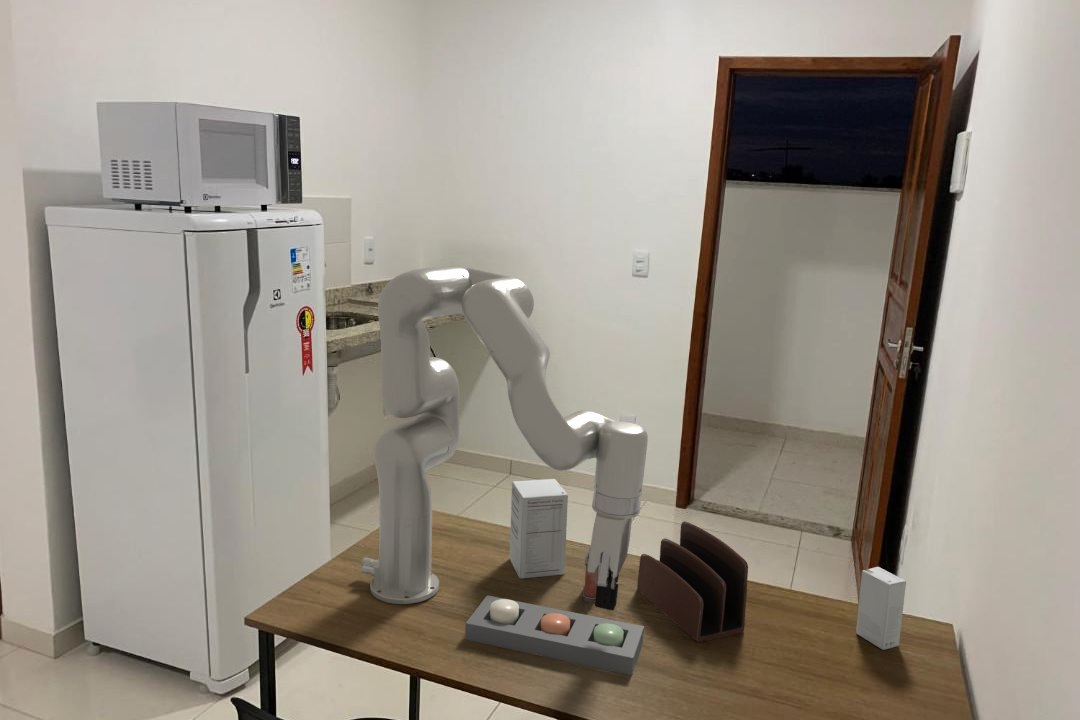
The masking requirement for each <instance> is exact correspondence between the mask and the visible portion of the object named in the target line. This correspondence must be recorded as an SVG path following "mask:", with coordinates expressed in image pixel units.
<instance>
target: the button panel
mask: <svg viewBox="0 0 1080 720" xmlns="http://www.w3.org/2000/svg"><path fill="white" fill-rule="evenodd" d="M500 599H504V597H503V598H501V597H497V596H492V595H486V596H485V597H484V598H483V600H482V601H481V602H480V604H479V605H478V607H477V608H476V609H475V611H474V612H473V613H472V614H471V616H470V617H469V618H468V619H467V621H466V622H465V634H464V635H465V636H464V640H466V641H470V642H475V643H479V644H484V645H489V646H493V647H497V648H503V649H508V650H513V651H516V652H521V653H526V654H530V655H535V656H539V657H545V658H549V659H554V660H560V661H562V662H564V661H565V662H568V663H572V664H578V665H582V666H586V667H591V668H595V669H602V670H605V671H611V672H614V673H615V672H616V673H618V674H625V675H628V676H633V673H634V670H635V668H636V664H637V661H638V658H639V655H640V653H641V649H642V647H643V644H644V633H645V632H644V631H645V625H641V624H635V623H628V622H624V621H619V620H614V619H610V618H604V617H598V616H593V615H589V614H584V613H577V612H575V611H574V612H573V611H567V610H563V609H558V608H554V607H553V608H552V607H548V606H543V605H539V604H538V605H537V604H533V603H528V602H522V601H519V600H514V601H515V602H516V603H518V605H519V616H518V621H517V623H516V624H515V626H514V625H509V624H504V623H499V622H494V621H490V606H491V603H492V602H494V601H496V600H500ZM550 613H558V614H563V615H565V616H567V617H568V618H569V619H570V632H569V634H568V636H562V635H558V634H553V633H548V632H543V631H541V619H542V617H543V616H544V615H546V614H550ZM604 623H608V624H614V625H617V626H619V627H620V628H622V630H623V632H624V634H623V647H622V648H621V647H616V646H611V645H606V644H601V643H596V642H593V639H594V628H595V627H596V626H597V625H599V624H604Z"/></svg>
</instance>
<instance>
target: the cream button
mask: <svg viewBox="0 0 1080 720" xmlns="http://www.w3.org/2000/svg"><path fill="white" fill-rule="evenodd" d="M515 601H516V600H512V599H507V598H503V599H500V600H496V601H494V602H492V603H491V606H490V621H494V622H499V623H504V624H509V625H514V626H515V624H516V623H517V621H518V616H519V605H518V603H516V602H515Z"/></svg>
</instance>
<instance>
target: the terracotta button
mask: <svg viewBox="0 0 1080 720" xmlns="http://www.w3.org/2000/svg"><path fill="white" fill-rule="evenodd" d="M541 631H543V632H548V633H553V634H558V635H562V636H568V634H569V632H570V619H569V618H568V617H567V616H565V615H563V614H558V613H550V614H546V615H544V616H543V617H542V619H541Z"/></svg>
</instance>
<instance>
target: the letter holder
mask: <svg viewBox="0 0 1080 720" xmlns="http://www.w3.org/2000/svg"><path fill="white" fill-rule="evenodd" d="M679 532H680V536H679V537H680V538H679V543H677V542H675V541H673V540H670V539H668V538H662V539H661V541H660V547H659V548H660V549H659V560H658V559H656V558H655V557H653V556H651V555H649V554H646V553H642V554H641V555H640V557H639V566H638V575H637V576H638V577H637V583H636V584H637V586H636V589H637V591H638V592H639V593H640V594H641V595H642V596H644V597H645V598H646V599H647V600H648V601H650V602H651V603H652V604H653V606H655V607H656V608H658V610H660V611H661V612H662V613H663V614H664V615H666V616H667V618H669V619H670V620H671V621H672V622H673V623H675V624H676V625H677V626H678V627H679V628H680V629H681V630H683V631H684V632H685V633H686V634H687V635H689V637H690V638H692V639H693V640H694V641H696V643H702V642H707V641H711V640H715V639H721V638H725V637H730V636H734V635H738V634H742V633H744V631H745V624H746V622H745V620H746V608H747V607H746V606H747V594H748V575H749V564H748V562H747V561H746V560H745V559H744V558H743V556H741V555H740V554H739V553H738V552H737V551H735V549H733V548H732V547H731V546H729V545H728V544H727V543H725V542H724V541H722V540H721V539H720V538H718V537H717V536H715V535H713V534H711V533H710V532H708V531H707V530H704V529H703V528H701V527H700V526H697V525H695V524H693V523H691V522H688V521H686V520H684V521H681V524H680V531H679Z"/></svg>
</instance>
